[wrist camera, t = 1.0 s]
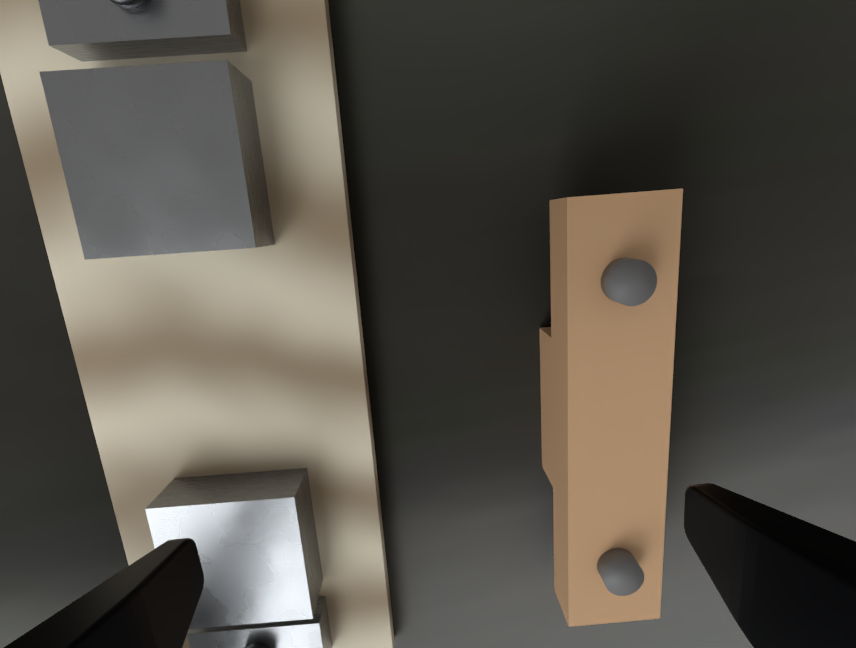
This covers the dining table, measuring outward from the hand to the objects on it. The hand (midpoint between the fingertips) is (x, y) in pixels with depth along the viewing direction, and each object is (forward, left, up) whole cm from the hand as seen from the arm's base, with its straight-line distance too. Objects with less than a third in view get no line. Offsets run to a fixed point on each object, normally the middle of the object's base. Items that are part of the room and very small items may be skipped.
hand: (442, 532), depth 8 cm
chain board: (0, +9, -12) cm, 15 cm away
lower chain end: (-10, +9, -11) cm, 17 cm away
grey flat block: (+10, +9, -11) cm, 17 cm away
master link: (-3, -7, -12) cm, 15 cm away
